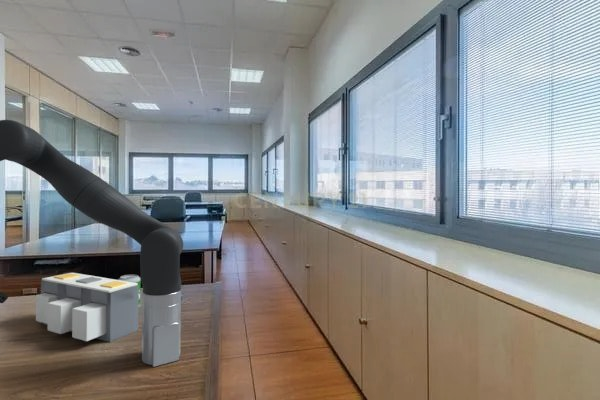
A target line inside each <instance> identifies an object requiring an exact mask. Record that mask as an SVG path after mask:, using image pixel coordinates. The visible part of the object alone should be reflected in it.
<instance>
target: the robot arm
mask: <svg viewBox="0 0 600 400" xmlns="http://www.w3.org/2000/svg"><path fill="white" fill-rule="evenodd" d="M2 161H9V162H12V163H16V164H18V165H20V166H22V167H24V168H26V169H28V170H30V171H31V172H33V173H34V174H36V175H38V176H40V177H41V178H43V179H44V180H45V181H46V182H48V183H49V184H50V185H51V186H52V187H53V188H54V190H55V191H56V192H57V193H58V194H59V195H60V196H61V198H63V199H64V201H66V202H67V203H68V204H70V206H72V207H74V209H76V210H78V211H79V212H81V213H82V214H83V215H85V216H87V217H88V218H90V219H92V220H93V221H96V222H98V223H99V224H102V225H104V226H106V227H109V228H111V229H114V230H117V231H119V232H121V233H123V234H125V235H127V236H128V237H130V238H131V239H133V240H134V241H135V242H137V243H138V244H139V245H140V253H139V257H140V261H139V263H140V264H139V265H140V266H139V267H140V268H139V269H140V284H141V285H142V286H141V287H142V307H141V308H142V313H141V315H142V316H141V318H142V319H141V323H142V324H141V326H142V327H141V329H142V330H141V332H142V333H141V362H143V363H144V364H146V365H150V366H152V367H158V366H162V365H165V364H169V363H172V362H177V361H179V359H180V356H181V332H182V331H181V328H182V327H181V326H182V325H181V324H182V323H181V322H182V321H181V320H182V318H181V315H182V313H181V311H182V310H181V309H182V305H181V304H182V279H181V273H180V271H181V270H180V267H181V266H180V262H181V261H180V260H181V254H182V252H183V249H184V240H183V237H182V235H181V234H180V233H179V232H178V231H177V230H176V229H174V228H172V227H170V226H168V225H166V224H165V223H163V222H162V221H160V220H158V219H156V218H154V217H153V216H151V215H150V214H148V213H147V212H145V211H143V209H142V208H140V207H139V206H138V205H136V204H135V203H134V202H133V201H131V200H130V199H129V198H128V197H127V196H125V195H124V194H122V193H121V192H120V191H119V190H118V189H116V188H115V187H114V186H112V185H111V184H109V183H108V182H107V181H105V179H102V178H101V177H100V176H98V175H96V174H94V173H93V171H90V170H89V169H87V168H85V167H84V166H81V165H80V164H79V163H77V162H74V161H73V160H71V159H69V158H68V157H67V156H65V155H64V154H63V153H62V152H60V151H59V150H58V149H57V148H55V146H53V145H52V144H51V143H50V142H49V141H47V140H46V138H44V137H43V136H42V135H41V134H40V133H39V132H38V131H36V130H35V129H34V128H31V127H29V126H27V125H25V124H23V123H21V122H19V121H16V120H12V119H0V162H2ZM8 299H9V296H8V295H6V293H3V292H2V291H0V304H4V303H5V302H6V301H7V300H8Z"/></svg>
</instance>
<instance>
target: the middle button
mask: <svg viewBox="0 0 600 400" xmlns="http://www.w3.org/2000/svg"><path fill="white" fill-rule="evenodd" d="M80 306H81V299H77V298H72V297H69V298H65V299H61V300H57V301H53V302H50V303H48V325H47V331H48V332H52V333H55V334H59V335H62V334H65V333H68V332H71V330H72V309H73V308H76V307H80Z"/></svg>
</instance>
